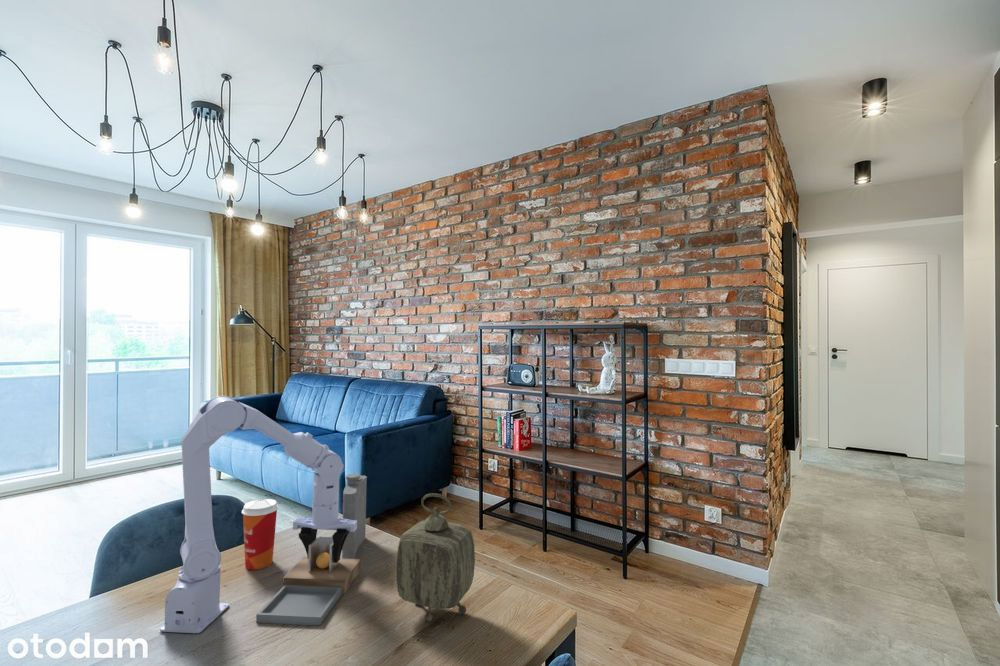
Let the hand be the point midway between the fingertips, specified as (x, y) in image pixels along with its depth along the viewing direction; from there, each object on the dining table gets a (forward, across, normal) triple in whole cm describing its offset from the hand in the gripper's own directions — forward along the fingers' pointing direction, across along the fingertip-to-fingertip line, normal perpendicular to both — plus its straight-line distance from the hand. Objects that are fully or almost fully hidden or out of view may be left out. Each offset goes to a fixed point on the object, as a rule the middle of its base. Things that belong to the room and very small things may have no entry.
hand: (324, 560), depth 111 cm
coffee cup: (+5, +19, -6) cm, 20 cm away
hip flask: (+5, -1, -16) cm, 17 cm away
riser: (+5, 0, 0) cm, 5 cm away
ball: (0, 0, 0) cm, 0 cm away
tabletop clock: (+5, -28, +12) cm, 31 cm away
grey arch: (+1, 0, 0) cm, 1 cm away
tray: (+5, 0, +11) cm, 12 cm away
